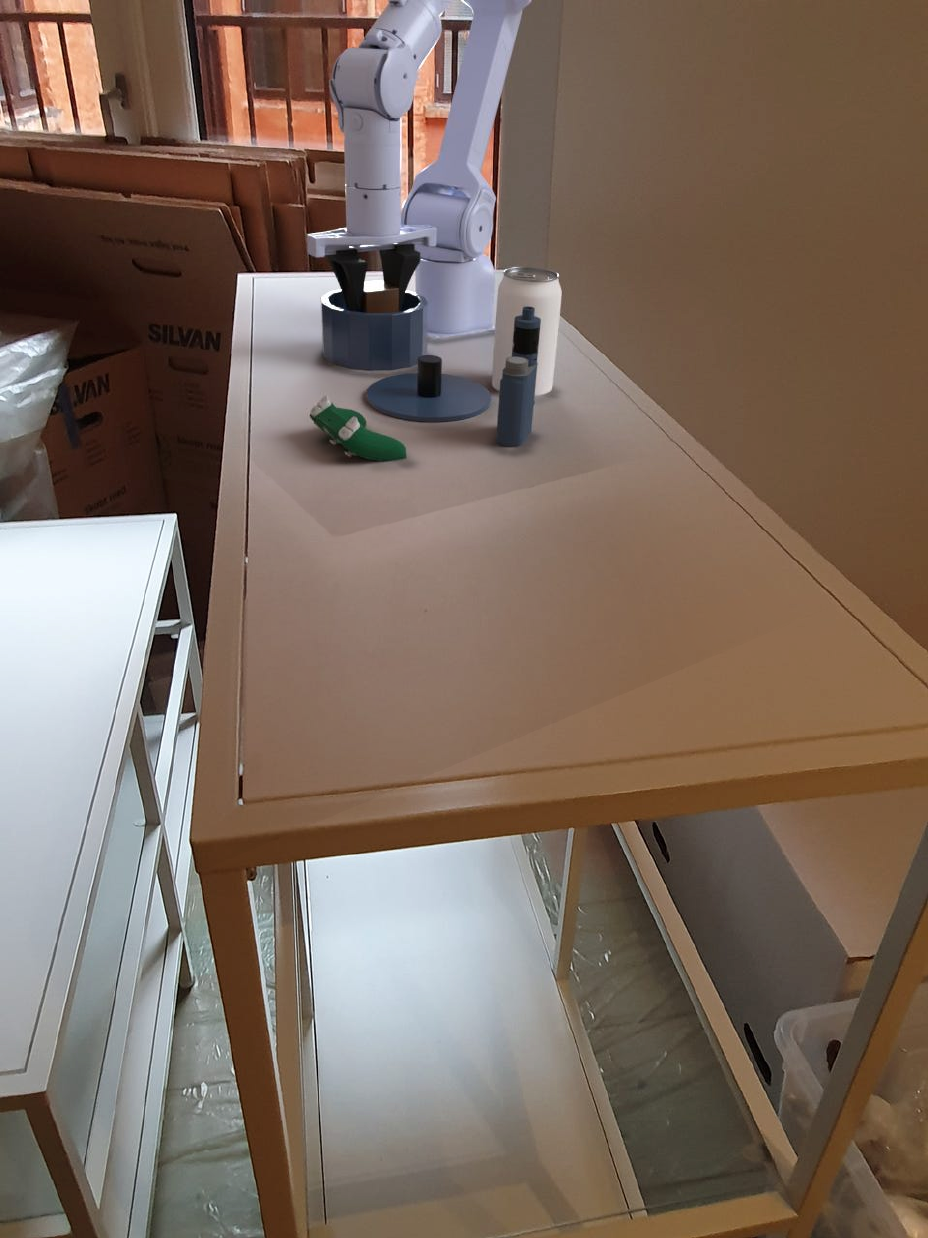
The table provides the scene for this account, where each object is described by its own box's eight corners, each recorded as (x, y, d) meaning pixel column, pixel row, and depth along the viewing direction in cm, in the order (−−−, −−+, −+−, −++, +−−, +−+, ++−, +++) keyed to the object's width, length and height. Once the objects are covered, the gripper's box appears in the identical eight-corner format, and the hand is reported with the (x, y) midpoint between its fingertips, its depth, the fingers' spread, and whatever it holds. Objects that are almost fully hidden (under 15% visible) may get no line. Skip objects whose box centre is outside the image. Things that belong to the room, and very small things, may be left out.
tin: (393, 337, 111) (394, 282, 107) (445, 366, 103) (447, 307, 99) (306, 350, 105) (303, 292, 101) (353, 381, 97) (351, 320, 94)
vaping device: (534, 434, 87) (546, 306, 81) (519, 454, 83) (530, 321, 76) (508, 429, 88) (518, 302, 81) (492, 449, 84) (501, 317, 77)
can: (547, 404, 94) (559, 283, 88) (486, 396, 95) (493, 277, 88) (555, 383, 99) (567, 268, 93) (496, 377, 100) (504, 262, 94)
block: (381, 324, 104) (381, 279, 102) (398, 334, 102) (398, 288, 99) (350, 329, 103) (348, 283, 100) (367, 339, 100) (366, 291, 97)
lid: (447, 376, 100) (449, 332, 97) (515, 414, 91) (518, 368, 89) (344, 394, 94) (343, 348, 91) (406, 436, 85) (407, 388, 83)
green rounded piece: (339, 449, 87) (295, 415, 82) (364, 417, 86) (321, 381, 82) (387, 487, 80) (342, 451, 76) (414, 452, 80) (370, 415, 76)
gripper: (413, 175, 100) (412, 302, 108) (291, 182, 93) (299, 317, 101) (448, 186, 95) (444, 318, 103) (322, 193, 88) (327, 334, 96)
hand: (374, 318), depth 101 cm, fingers closed on block, 4 cm apart
